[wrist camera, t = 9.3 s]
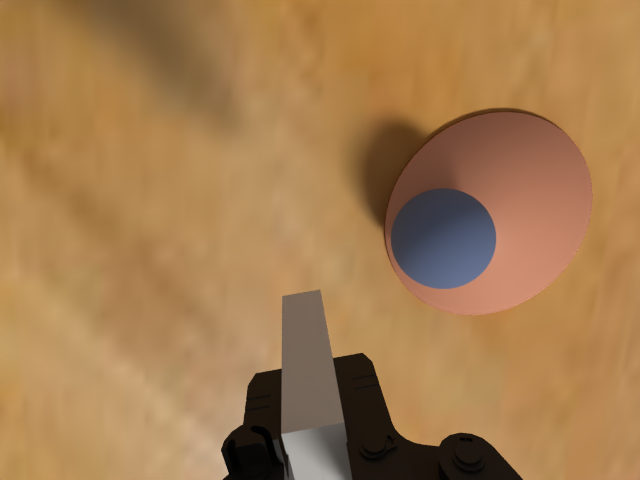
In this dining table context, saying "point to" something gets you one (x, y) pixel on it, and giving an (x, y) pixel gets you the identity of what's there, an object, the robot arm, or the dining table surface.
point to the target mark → (504, 204)
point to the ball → (443, 238)
